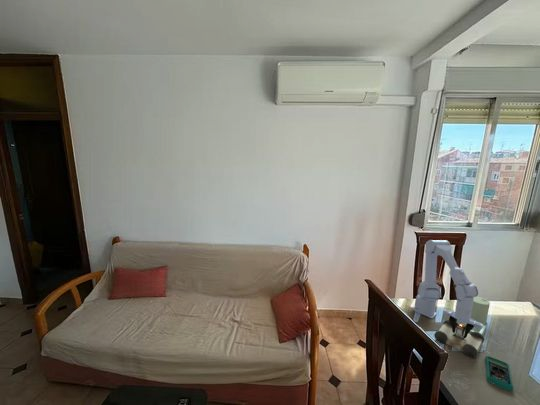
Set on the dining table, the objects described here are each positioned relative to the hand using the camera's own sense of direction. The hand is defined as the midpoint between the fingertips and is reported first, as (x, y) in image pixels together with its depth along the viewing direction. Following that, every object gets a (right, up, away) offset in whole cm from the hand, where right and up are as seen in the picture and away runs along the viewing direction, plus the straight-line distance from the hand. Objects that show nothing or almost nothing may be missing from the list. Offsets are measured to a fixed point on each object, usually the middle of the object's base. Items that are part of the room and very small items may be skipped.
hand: (459, 334), depth 114 cm
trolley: (0, -4, +1) cm, 4 cm away
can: (+24, -2, +19) cm, 30 cm away
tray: (+11, -3, +9) cm, 15 cm away
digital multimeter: (+2, -7, -17) cm, 19 cm away
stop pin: (0, -4, +1) cm, 4 cm away
